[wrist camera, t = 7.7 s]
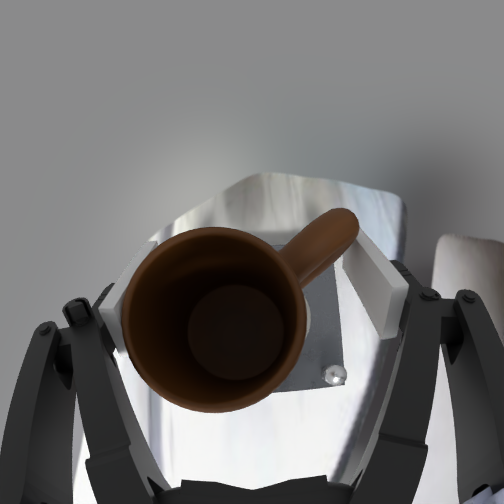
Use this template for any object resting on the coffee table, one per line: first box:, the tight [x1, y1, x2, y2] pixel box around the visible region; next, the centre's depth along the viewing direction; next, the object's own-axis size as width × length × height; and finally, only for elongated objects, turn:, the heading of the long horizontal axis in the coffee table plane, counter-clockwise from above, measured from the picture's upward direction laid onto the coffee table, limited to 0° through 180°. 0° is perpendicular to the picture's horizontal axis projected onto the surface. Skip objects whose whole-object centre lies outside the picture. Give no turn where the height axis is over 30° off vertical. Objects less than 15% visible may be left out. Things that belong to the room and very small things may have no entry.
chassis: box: [271, 245, 347, 393], centre depth 29 cm, size 16×16×5 cm
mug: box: [121, 208, 360, 413], centre depth 15 cm, size 12×8×9 cm, turn 127°
